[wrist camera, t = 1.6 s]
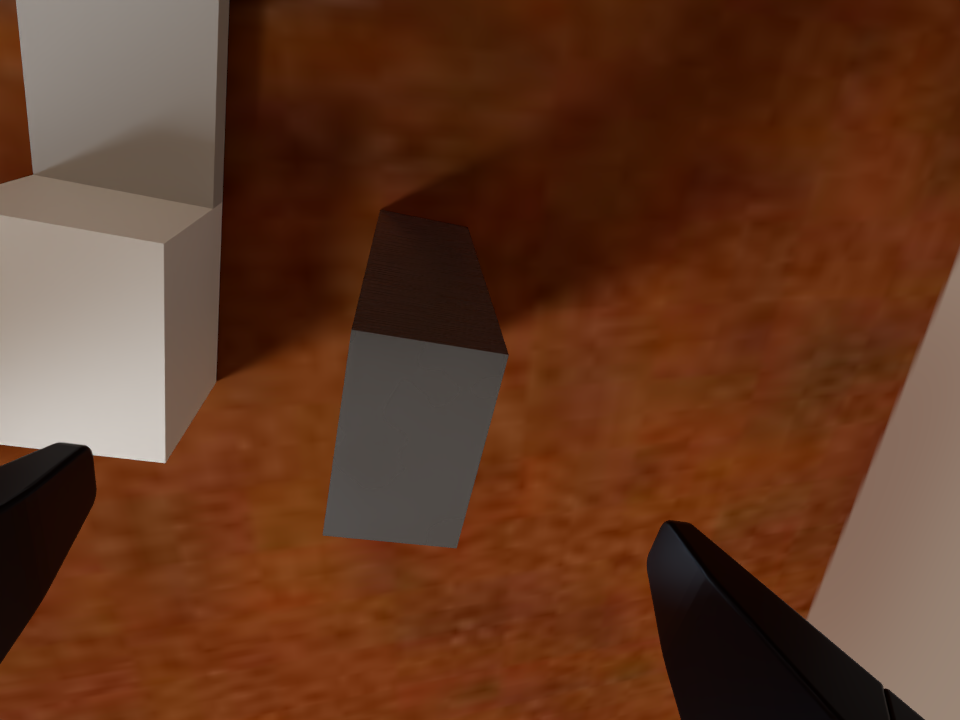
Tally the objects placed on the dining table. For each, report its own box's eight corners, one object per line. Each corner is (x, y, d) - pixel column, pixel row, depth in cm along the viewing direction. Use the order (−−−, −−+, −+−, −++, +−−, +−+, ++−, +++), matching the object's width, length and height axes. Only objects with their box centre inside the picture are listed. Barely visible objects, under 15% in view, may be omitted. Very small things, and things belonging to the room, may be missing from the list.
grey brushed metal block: (440, 355, 22) (456, 548, 13) (360, 343, 22) (322, 535, 13) (467, 227, 20) (508, 354, 11) (380, 210, 20) (351, 330, 11)
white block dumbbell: (216, 382, 22) (165, 463, 17) (68, 361, 21) (-25, 441, 16) (242, -372, 13) (157, -586, 9) (-2, -461, 13) (-231, -748, 8)
